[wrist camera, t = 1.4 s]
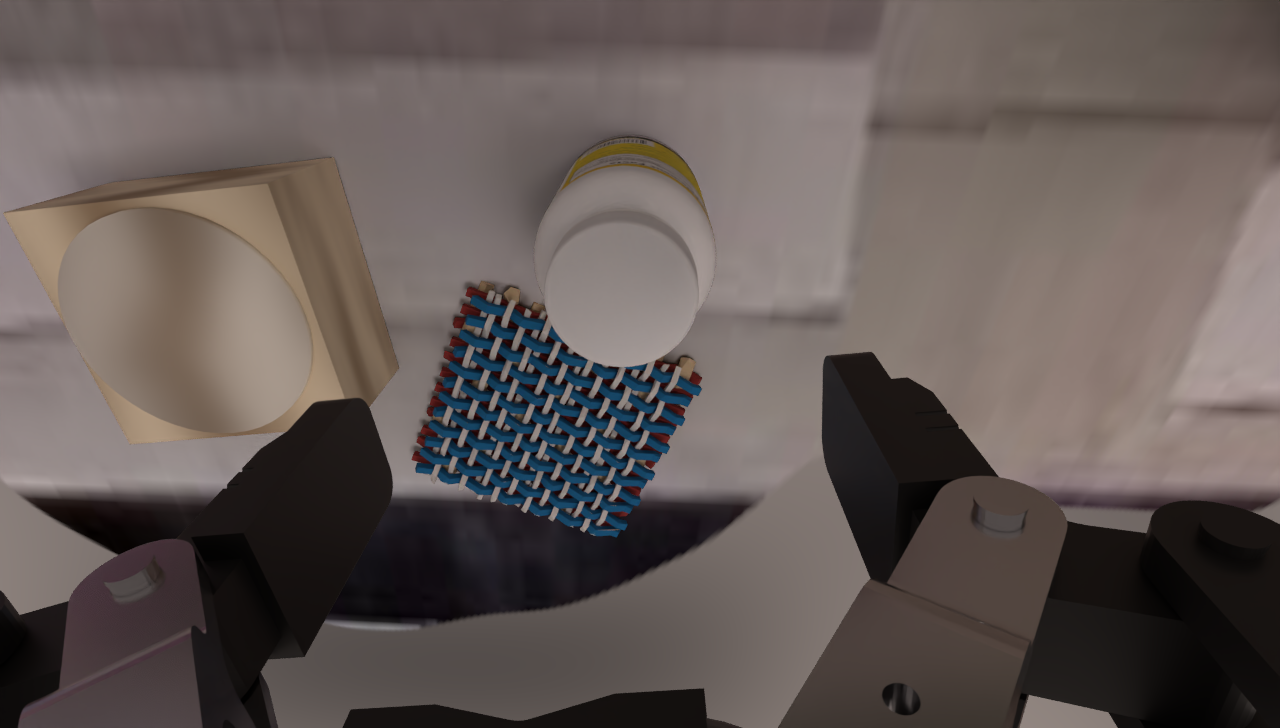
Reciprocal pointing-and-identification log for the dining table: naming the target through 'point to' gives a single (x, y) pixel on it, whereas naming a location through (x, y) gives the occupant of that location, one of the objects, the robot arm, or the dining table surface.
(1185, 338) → the dining table surface
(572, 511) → the woven mat
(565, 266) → the supplement bottle
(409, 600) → the dining table surface
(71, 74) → the dining table surface
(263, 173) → the pedestal
